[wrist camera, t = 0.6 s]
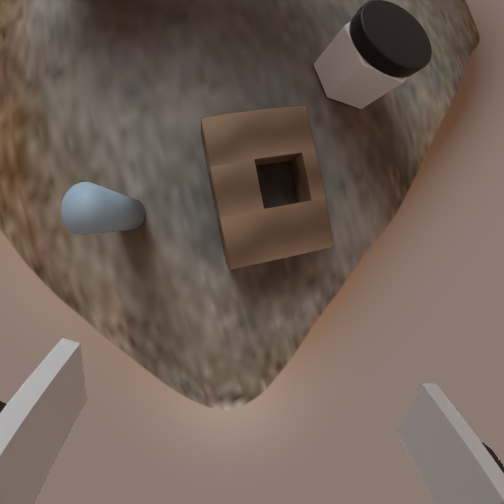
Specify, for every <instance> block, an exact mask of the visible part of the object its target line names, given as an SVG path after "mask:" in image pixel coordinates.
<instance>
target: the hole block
mask: <svg viewBox="0 0 504 504" xmlns="http://www.w3.org/2000/svg"><path fill="white" fill-rule="evenodd" d="M201 135H202V141H203V146H204V151H205V157H206V162H207V168H208V173H209V178H210V183H211V189H212V194H213V199H214V204H215V209H216V214H217V219H218V225H219V230H220V234H221V239H222V244H223V249H224V254H225V259H226V264H227V265H228V267H229V268H230V270H232V269H236V268H241V267H246V266H250V265H255V264H259V263H264V262H268V261H273V260H278V259H282V258H287V257H291V256H296V255H300V254H305V253H309V252H313V251H318V250H322V249H327V248H331V247H334V244H333V238H332V232H331V226H330V220H329V215H328V209H327V204H326V198H325V193H324V188H323V183H322V178H321V173H320V168H319V163H318V159H317V154H316V149H315V145H314V140H313V136H312V132H311V127H310V123H309V119H308V115H307V111H306V106H305V105H300V106H289V107H278V108H269V109H260V110H252V111H244V112H237V113H230V114H223V115H217V116H211V117H205V118H201ZM286 161H289V163H290V167H291V172H292V177H293V182H294V187H295V192H296V198H297V203H294V204H289V205H283V206H278V207H272V208H267V209H264V206H263V201H262V196H261V190H260V185H259V180H258V175H257V170H256V166H260V165H266V164H272V163H279V162H286Z"/></svg>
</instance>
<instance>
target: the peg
mask: <svg viewBox="0 0 504 504" xmlns="http://www.w3.org/2000/svg"><path fill="white" fill-rule="evenodd" d="M61 212H62V218H63V221H64V223H65V224H66V226H67V227H68V228H69V229H70V230H71V231H73V232H74V233H77V234H81V235H86V234H95V233H105V232H115V231H125V230H134V229H136V228H138V227H139V226H141V225H142V223H143V221H144V219H145V209H144V206H143V205H142V203H141V202H139V201H138V200H136V199H133V198H130V197H128V196H125V195H123V194H120V193H117V192H115V191H112V190H109V189H107V188H104V187H101V186H99V185H96V184H93V183H90V182H81V183H78V184H76V185H74V186H73V187H71V188H70V189H69V190H68V192H67V193H66V194H65V196H64V199H63V201H62V207H61Z"/></svg>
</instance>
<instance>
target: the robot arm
mask: <svg viewBox="0 0 504 504" xmlns="http://www.w3.org/2000/svg"><path fill="white" fill-rule="evenodd" d="M86 400H87V396H86V389H85V382H84V374H83V366H82V356H81V344H80V343H78V342H74V341H70V340H67V339H64V338H62V339H61V340H60V341H59V343H58V344H57V345H56V346H55V347H54V348H53V349H52V351H51V352H50V353H49V354H48V355H47V356H46V357H45V359H44V360H43V361H42V362H41V363H40V364H39V366H38V367H37V368H36V369H35V370H34V372H33V373H32V374H31V375H30V376H29V378H28V379H27V380H26V381H25V382H24V384H23V385H22V386H21V388H20V389H19V390H18V391H17V392H16V393H15V395H14V396H13V397H12V399H11V400H10V401H9V402H8V404H5V403H3V402H1V401H0V504H34V503H35V500H36V498H37V496H38V494H39V492H40V489H41V487H42V485H43V483H44V481H45V479H46V477H47V475H48V473H49V471H50V469H51V467H52V465H53V463H54V461H55V459H56V457H57V455H58V453H59V451H60V449H61V447H62V445H63V443H64V441H65V439H66V438H67V436H68V434H69V432H70V430H71V428H72V426H73V424H74V422H75V420H76V419H77V417H78V415H79V413H80V411H81V410H82V408H83V406H84V404H85V402H86ZM396 432H397V434H398V436H399V438H400V440H401V442H402V444H403V446H404V447H405V449H406V451H407V453H408V455H409V457H410V459H411V461H412V463H413V465H414V466H415V468H416V470H417V472H418V474H419V476H420V478H421V480H422V482H423V484H424V486H425V488H426V490H427V492H428V494H429V496H430V498H431V500H432V502H433V504H504V467H503V464H502V463H501V462H500V460H498V457H497V456H496V455H495V453H494V452H493V451H492V450H491V449H490V448H489V447H488V446H486V445H485V444H484V443H481V441H480V440H479V439H478V437H477V436H476V435H475V433H474V432H473V431H472V429H471V428H470V427H469V425H468V424H467V423H466V422H465V420H464V419H463V418H462V416H461V415H460V414H459V412H458V411H457V410H456V409H455V407H454V406H453V405H452V403H451V402H450V401H449V400H448V398H447V397H446V396H445V395H444V393H443V392H442V391H441V390H440V389H439V387H438V386H437V385H436V383H422V384H421V386H420V388H419V390H418V392H417V394H416V396H415V398H414V399H413V402H412V403H411V405H410V407H409V409H408V411H407V412H406V414H405V416H404V418H403V419H402V421H401V423H400V425H399V426H398V428H397V430H396Z"/></svg>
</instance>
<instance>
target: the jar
mask: <svg viewBox="0 0 504 504" xmlns="http://www.w3.org/2000/svg"><path fill="white" fill-rule="evenodd" d="M431 54H432V50H431V44H430V41H429V38H428V36H427V34H426V32H425V30H424V29H423V27H422V26H421V25H420V23H419V22H418V21H417V20H416V19H415V18H414V17H413V16H412V15H411V14H410V13H408V12H407V11H406V10H404V9H403V8H401V7H400V6H398V5H396V4H393V3H391V2H388V1H383V0H373V1H369V2H367V3H366V4H364V5H363V6H362V7H361V8H360V9H359V10H358V11H357V13H356V15H355V16H354V17H353V18H352V20H351V21H350V22H349V23H347V24H346V25H345V26H344V27H343V28H342V29H341V30H340V32H339V33H338V34H337V35H336V37H335V38H334V39H333V40H332V41H331V43H330V44H329V45H328V46H327V48H326V49H325V50H324V51H323V53H322V54H321V55H320V56H319V58H318V59H317V60H316V62H315V63H314V67H315V70H316V72H317V74H318V77H319V79H320V81H321V84H322V86H323V89H324V91H325V94H326V96H327V97H328V98H331V99H334V100H337V101H339V102H342V103H345V104H348V105H351V106H353V107H356V108H359V109H363V108H364V107H366V106H367V105H369V104H370V103H372V102H374V101H375V100H377V99H378V98H380V97H381V96H383V95H385V94H386V93H388V92H389V91H391V90H393V89H394V88H396V87H397V86H399V85H401V84H402V83H404V81H405V80H406V79H407V78H408V77H409V76H411V75H412V74H414V73H416V72H417V71H419V70H421V69H422V68H424V67H425V66H426V65H427V64H428V63H429V61H430V59H431Z"/></svg>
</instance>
